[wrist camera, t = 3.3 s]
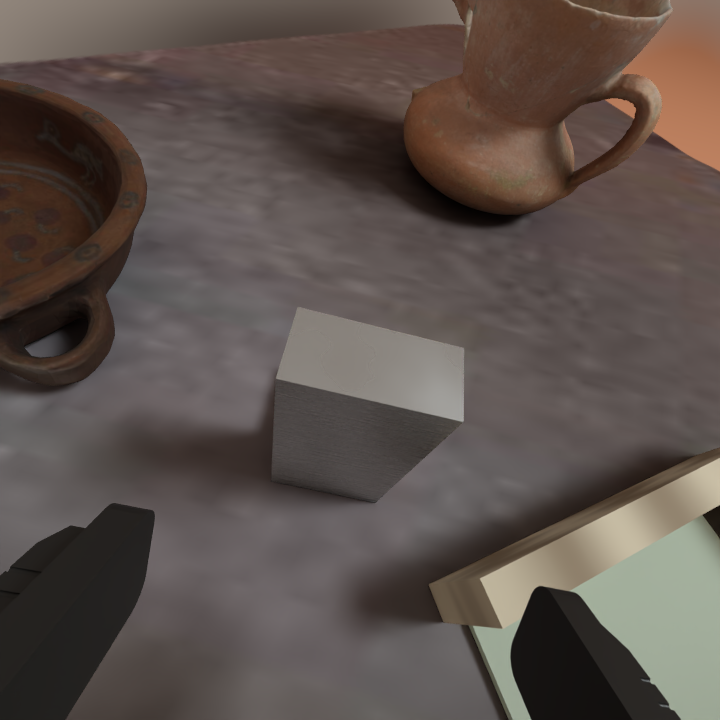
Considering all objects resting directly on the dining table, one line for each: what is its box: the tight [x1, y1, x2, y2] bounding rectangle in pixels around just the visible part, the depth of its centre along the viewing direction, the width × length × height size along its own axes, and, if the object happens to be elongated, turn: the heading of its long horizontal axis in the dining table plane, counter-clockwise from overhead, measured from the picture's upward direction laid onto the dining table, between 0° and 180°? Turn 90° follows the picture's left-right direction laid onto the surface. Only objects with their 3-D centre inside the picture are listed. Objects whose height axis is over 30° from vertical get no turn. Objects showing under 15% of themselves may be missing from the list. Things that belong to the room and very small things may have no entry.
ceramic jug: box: [403, 0, 673, 215], centre depth 29 cm, size 18×14×14 cm
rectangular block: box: [271, 307, 464, 503], centre depth 16 cm, size 6×5×10 cm
